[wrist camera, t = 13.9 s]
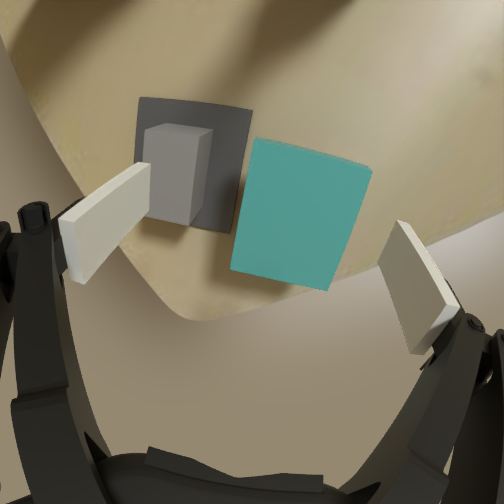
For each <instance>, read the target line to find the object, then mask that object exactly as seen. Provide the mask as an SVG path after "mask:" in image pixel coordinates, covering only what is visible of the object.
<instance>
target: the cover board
mask: <svg viewBox="0 0 504 504" xmlns="http://www.w3.org/2000/svg"><path fill="white" fill-rule="evenodd" d="M372 172H373V171H372V170H371V169H370V168H369V167H368V166H366V165H363V164H360V163H357V162H353V161H350V160H347V159H343V158H340V157H336V156H333V155H329V154H326V153H322V152H318V151H315V150H311V149H307V148H303V147H299V146H295V145H291V144H287V143H282V142H278V141H273V140H269V139H264V138H259V137H256V138H255V140H254V143H253V148H252V153H251V158H250V163H249V169H248V174H247V179H246V184H245V189H244V194H243V200H242V205H241V210H240V216H239V221H238V226H237V232H236V237H235V243H234V248H233V254H232V259H231V265H230V270H234V271H238V272H243V273H247V274H252V275H256V276H260V277H265V278H269V279H274V280H278V281H283V282H287V283H292V284H296V285H301V286H306V287H310V288H315V289H320V290H324V291H328V288H329V286H330V284H331V281H332V279H333V277H334V274H335V272H336V269H337V267H338V264H339V262H340V260H341V257H342V255H343V252H344V250H345V247H346V244H347V242H348V239H349V237H350V234H351V231H352V229H353V226H354V223H355V221H356V218H357V215H358V212H359V210H360V207H361V204H362V201H363V198H364V195H365V193H366V190H367V187H368V184H369V181H370V178H371V175H372Z"/></svg>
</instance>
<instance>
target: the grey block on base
mask: <svg viewBox="0 0 504 504" xmlns="http://www.w3.org/2000/svg"><path fill="white" fill-rule="evenodd" d="M252 112H253V110H248V109H242V108H236V107H230V106H224V105H217V104H210V103H202V102H194V101H185V100H175V99H163V98H148V97H140V98H139V107H138V116H137V127H136V140H135V155H134V164H135V163H137V162H143V163H150V164H151V171H150V194H149V211H148V212H147V213H146V215H145V217H149V218H154V219H159V220H163V221H168V222H172V223H177V224H182V225H186V226H189V225H191V226H196V227H200V228H205V229H209V230H214V231H218V232H223V233H227V234H230V230H231V225H232V219H233V213H234V207H235V202H236V196H237V191H238V185H239V180H240V174H241V169H242V164H243V158H244V153H245V148H246V143H247V137H248V132H249V127H250V122H251V117H252Z"/></svg>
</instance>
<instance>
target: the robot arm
mask: <svg viewBox="0 0 504 504" xmlns="http://www.w3.org/2000/svg"><path fill="white" fill-rule="evenodd" d="M150 171H151V164H150V163H143V162H137V163H135V164H134V165H132V166H131V167H129V168H128V169H126V170H125V171H123V172H121V173H120V174H118V175H117V176H115V177H114V178H112V179H111V180H110V181H108V182H107V183H105V184H104V185H102V186H101V187H99V188H98V189H97V190H95V191H94V192H92V193H91V194H90V195H88V196H86V197H83V198H81V199H78V200H77V201H75V202H74V203H72V204H71V205H70V206H68V207H67V208H66V209H65V210H64V211H62V212H61V213H59V214H58V215H57V216H56V217H54V218H53V219H52V220H51V218H50V212H49V206H48V204H47V203H46V202H41V201H38V202H32V203H29V204H27V205H25V206H23V207H22V208H21V209H19V211H18V212H17V214H18V218H19V223H20V227H21V233H12V232H11V228H10V225H9V223H8V222H5V221H2V222H0V377H1V371H2V365H3V359H4V354H5V349H6V344H7V340H8V335H9V331H10V327H11V323H12V320H13V316H14V358H15V371H16V381H17V390H18V396H17V398H15V399H12V401H11V416H12V422H13V428H14V433H15V438H16V443H17V447H18V451H19V455H20V459H21V463H22V467H23V470H24V474H25V477H26V480H27V483H28V486H29V490H30V492H31V494H30V495H28V496H25V497H23V498H20V499H18V500H15V501H12V502H10V503H7V504H439V502H440V501H441V503H440V504H504V330H503V329H498V330H497V331H496V333H495V334H494V335H493V336H490V335H488V334H486V333H485V328H484V326H483V324H482V323H481V321H480V320H479V319H478V318H477V317H475V316H474V315H472V314H469V313H465V311H464V309H463V308H462V306H461V304H460V302H459V300H458V298H457V297H456V296H455V293H454V291H452V288H451V286H450V285H449V283H448V281H447V280H446V279H445V278H444V277H443V276H442V274H441V272H440V271H439V269H438V268H437V266H436V264H435V263H434V261H433V260H432V258H431V256H430V255H429V253H428V252H427V250H426V249H425V247H424V246H423V244H422V243H421V241H420V240H419V238H418V237H417V235H416V234H415V232H414V231H413V229H412V228H411V227H410V225H409V224H408V223H406V222H402V221H399V220H396V222H395V225H394V227H393V229H392V231H391V234H390V236H389V238H388V240H387V243H386V245H385V247H384V249H383V251H382V253H381V256H380V258H379V260H378V264H379V266H380V269H381V271H382V274H383V277H384V279H385V282H386V284H387V287H388V289H389V292H390V295H391V298H392V301H393V303H394V306H395V309H396V312H397V315H398V318H399V321H400V324H401V327H402V330H403V333H404V336H405V339H406V342H407V346H408V349H409V352H410V354H418V355H424V354H425V353H426V352H427V351H428V349H429V348H430V347H431V346H432V347H433V349H434V353H433V354H432V356H431V357H430V358H429V359H428V360H427V361H426V362H425V364H424V365H423V366H422V367H421V368H420V370H422V369H423V368H424V370H423V372H422V374H421V375H420V377H419V379H418V381H417V383H416V385H415V387H414V388H413V390H412V392H411V394H410V396H409V397H408V399H407V401H406V402H405V404H404V406H403V408H402V409H401V411H400V412H399V414H398V415H397V417H396V419H395V420H394V422H393V423H392V425H391V426H390V428H389V429H388V431H387V432H386V434H385V435H384V437H383V438H382V440H381V441H380V443H379V444H378V445H377V447H376V448H375V449H374V451H373V452H372V454H371V455H370V456H369V458H368V459H367V460H366V462H365V463H364V464H363V465H362V467H361V468H360V469H359V470H358V472H357V473H356V474H355V475H354V476H353V477H352V478H351V479H350V480H349V481H348V482H346V483H345V484H344V485H342V486H341V487H340V488H339V489H336V488H335V487H332V486H329V485H327V484H324V483H323V475H306V474H288V473H280V474H273V475H264V476H255V477H244V478H237V477H232V476H230V475H227V474H225V473H223V472H220V471H218V470H216V469H213V468H211V467H209V466H207V465H205V464H203V463H200V462H198V461H196V460H194V459H192V458H189V457H185V456H181V455H177V454H173V453H170V452H166V451H163V450H160V449H156V448H153V447H150V446H149V447H148V451H147V454H145V453H127V454H120V455H115V456H111V453H110V451H109V449H108V447H107V445H106V443H105V441H104V439H103V437H102V435H101V433H100V431H99V428H98V426H97V424H96V420H95V418H94V415H93V412H92V409H91V406H90V402H89V399H88V396H87V393H86V389H85V386H84V382H83V379H82V375H81V371H80V368H79V363H78V359H77V355H76V351H75V346H74V341H73V337H72V331H71V327H70V321H69V315H68V309H67V303H66V295H65V287H64V280H63V276H62V273H63V272H64V271H65V270H66V269H68V273H69V277H70V280H72V281H76V282H78V283H81V284H84V285H85V284H86V283H87V281H88V280H89V279H90V277H91V276H92V275H93V274H94V272H95V271H96V270H97V269H98V268H99V267H100V265H101V264H102V263H103V262H104V260H105V259H106V258H107V257H108V256H109V255H110V253H111V252H112V251H113V250H114V249H115V248H116V247H117V245H118V244H119V243H120V242H121V241H122V240H123V239H124V237H125V236H126V235H127V234H128V233H129V232H130V231H131V230H132V229H133V227H134V226H135V225H136V224H137V223H138V222H139V221H140V220H141V219H142V218H143V217H144V216H145V215H146V213H147V212H148V211H149V194H150ZM491 375H492V377H491V379H490V380H489V382H488V383H487V379H488V378H489V377H490V376H491ZM453 446H454V450H453V455H452V460H451V465H450V470H449V474H448V475H446V474H445V473H443V470H444V467H445V465H446V463H447V461H448V458H449V456H450V454H451V452H452V449H453ZM0 490H1V484H0ZM441 499H442V500H441Z"/></svg>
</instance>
